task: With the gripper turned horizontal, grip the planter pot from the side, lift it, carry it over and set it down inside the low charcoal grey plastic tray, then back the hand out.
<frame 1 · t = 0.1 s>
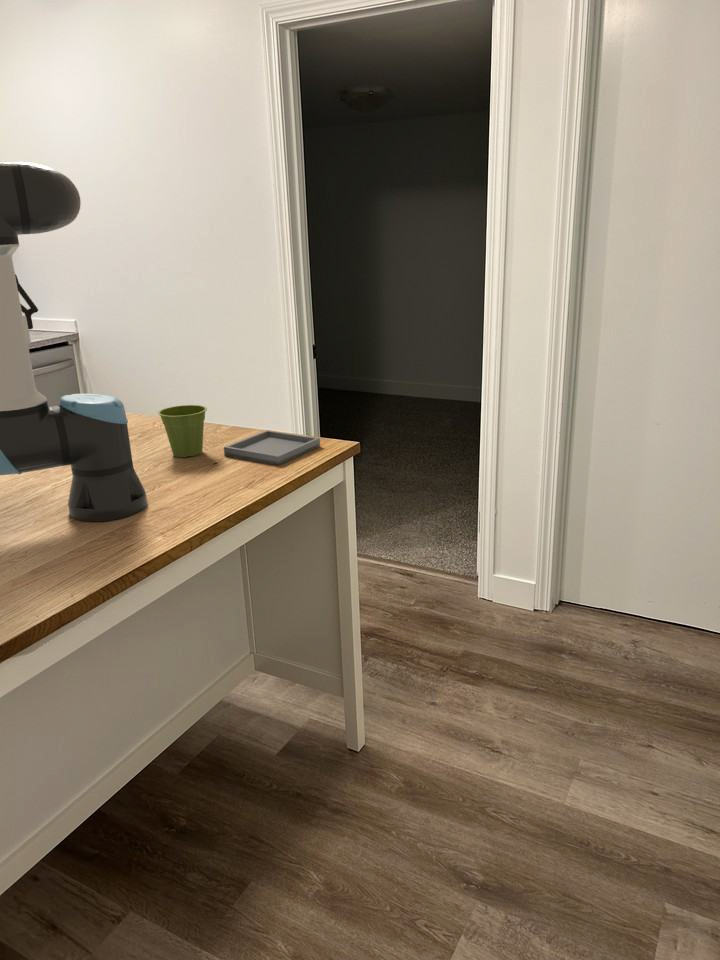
tray: (273, 450, 181), on the countertop
plant pot: (187, 454, 181), on the countertop
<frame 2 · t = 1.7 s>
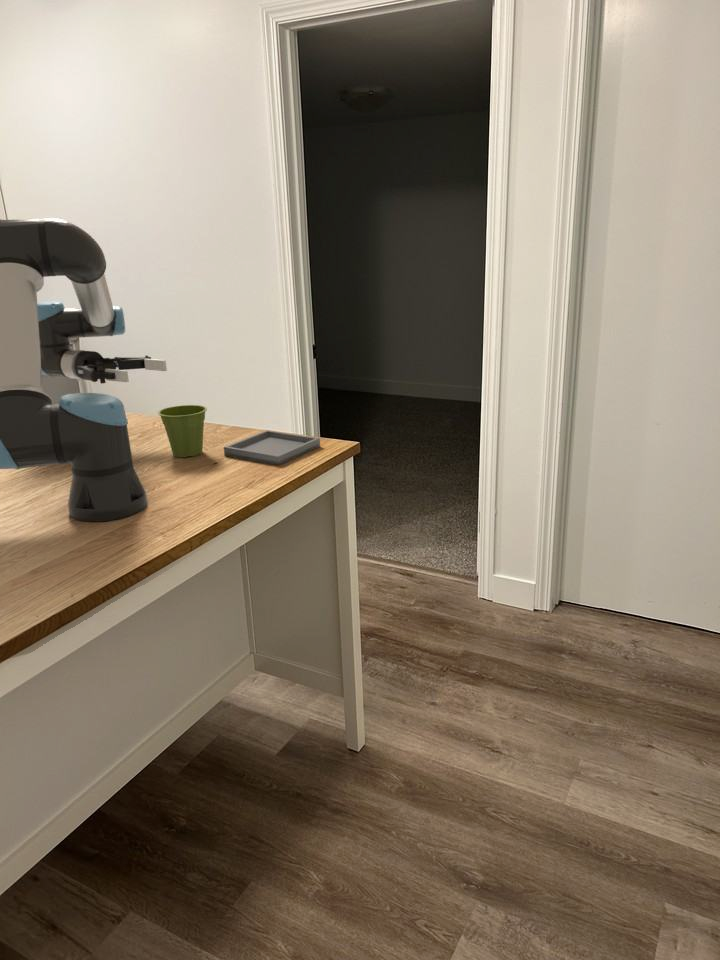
hand: (146, 370, 178), 20 cm above the countertop, tool horizontal, fingers open, 13 cm apart
nothing on the countertop moved.
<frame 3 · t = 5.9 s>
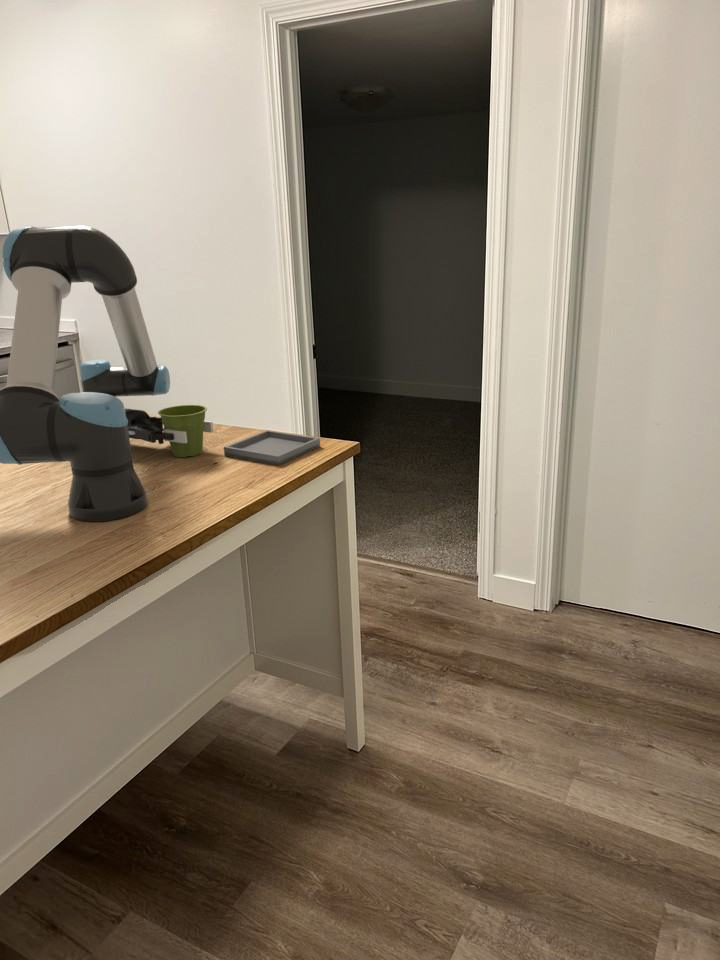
hand: (199, 432, 177), 6 cm above the countertop, tool horizontal, fingers closed on plant pot, 9 cm apart
plant pot: (187, 454, 181), on the countertop, touching gripper
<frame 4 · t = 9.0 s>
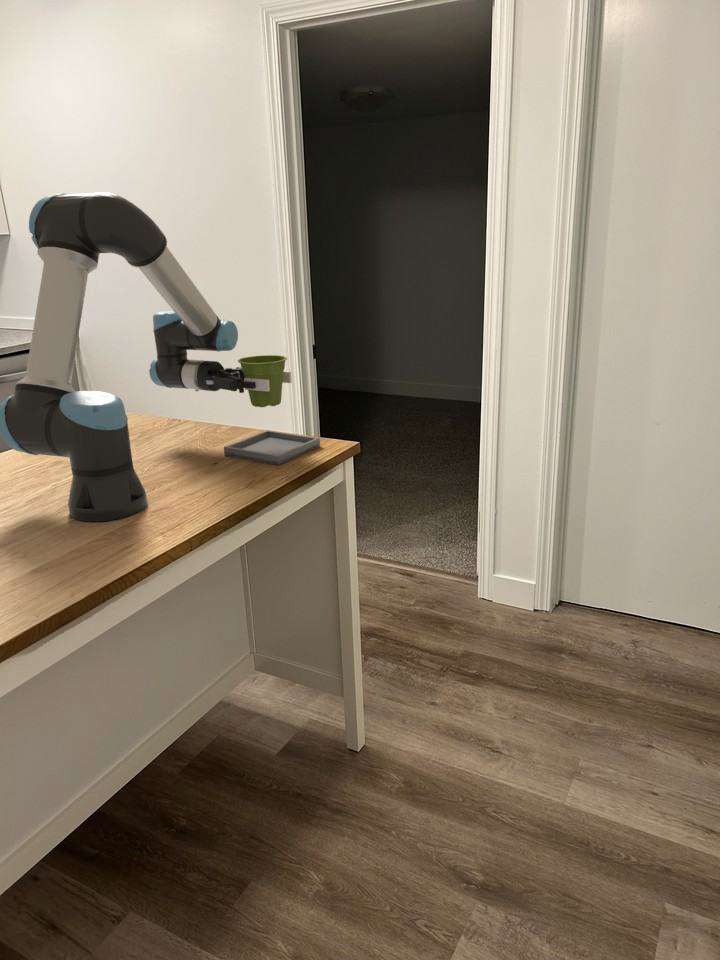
hand: (279, 381, 174), 18 cm above the countertop, tool horizontal, fingers closed on plant pot, 9 cm apart
plant pot: (265, 405, 178), point 12 cm above the countertop, touching gripper
when the fingers open (8 cm above the countertop, at t = 11.9 s): plant pot drops 1 cm, resting on tray.
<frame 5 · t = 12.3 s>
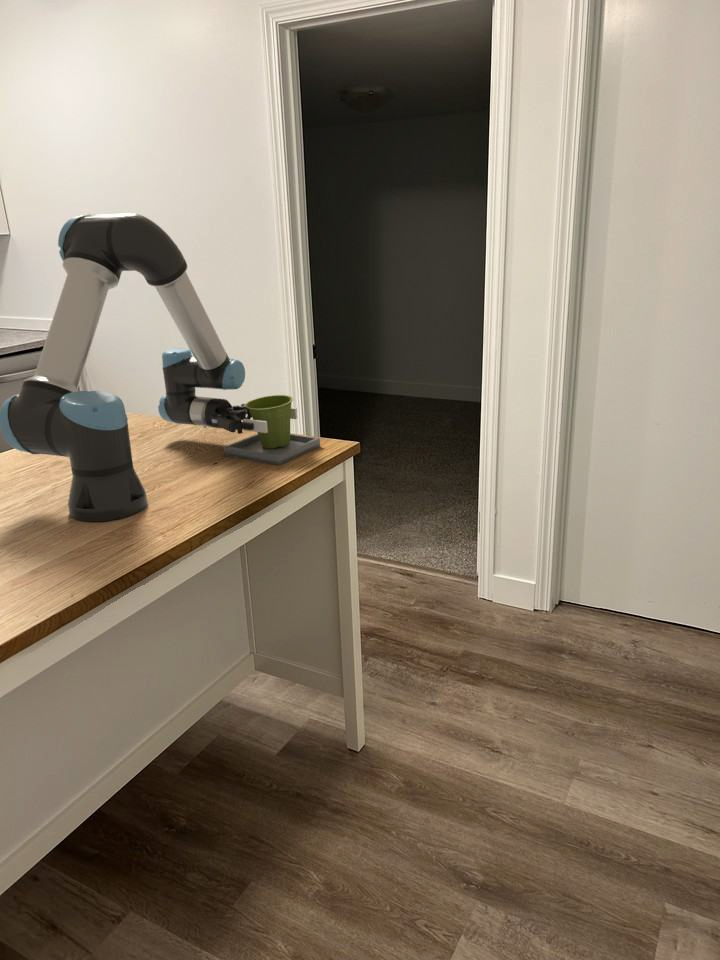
hand: (282, 420, 177), 8 cm above the countertop, tool horizontal, fingers open, 13 cm apart
plant pot: (276, 444, 183), point 1 cm above the countertop, touching gripper, tray
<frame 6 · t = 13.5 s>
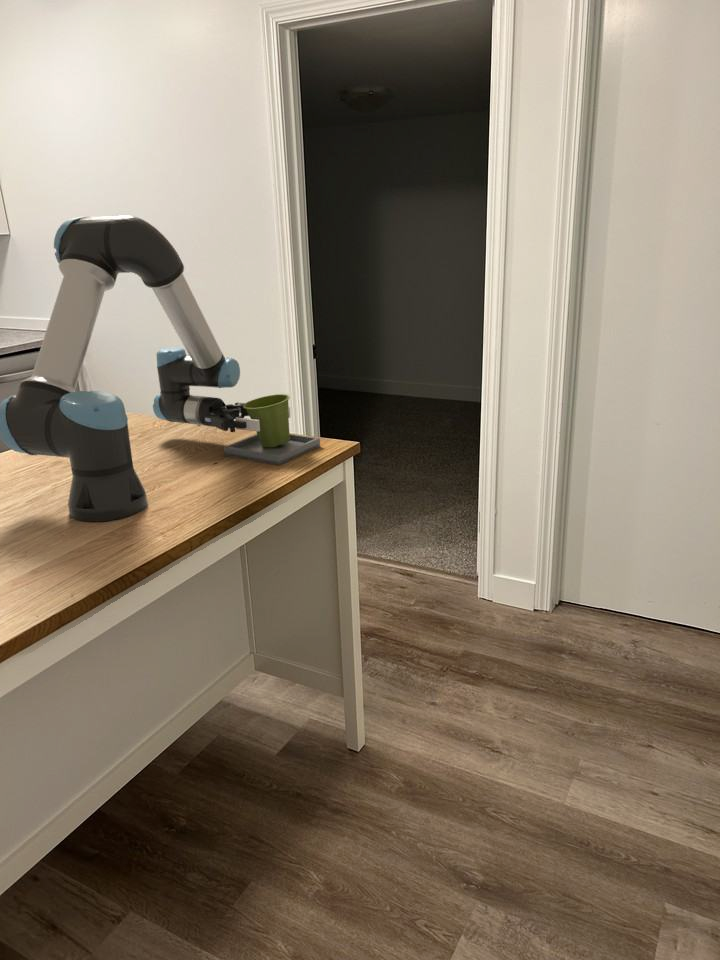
hand: (274, 418, 178), 8 cm above the countertop, tool horizontal, fingers open, 13 cm apart
plant pot: (275, 444, 183), point 1 cm above the countertop, touching tray
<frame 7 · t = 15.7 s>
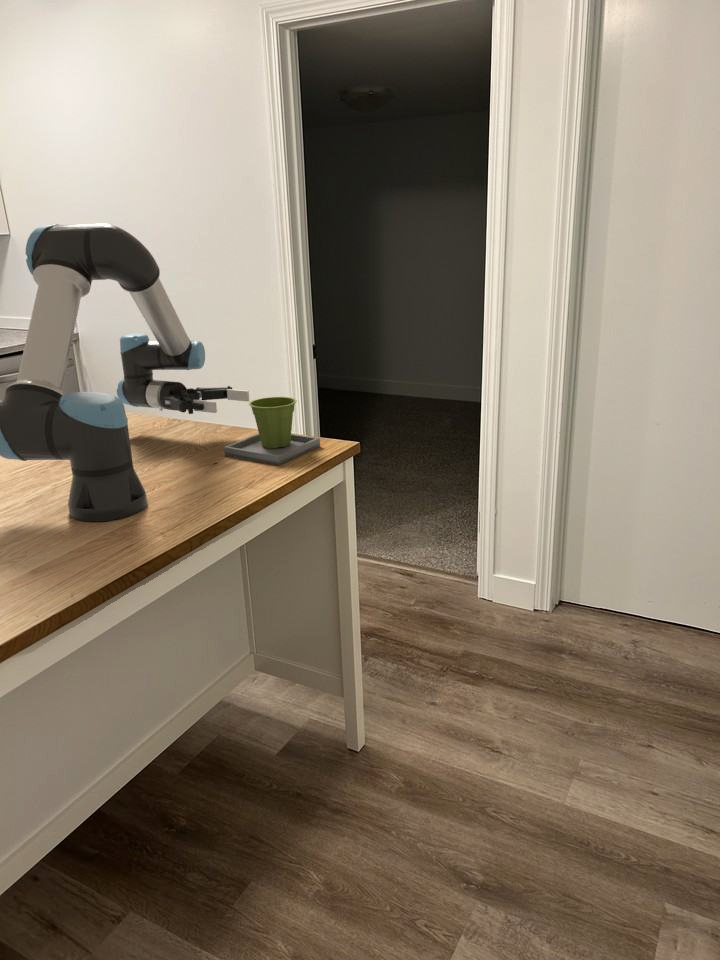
hand: (232, 401, 182), 12 cm above the countertop, tool horizontal, fingers open, 13 cm apart
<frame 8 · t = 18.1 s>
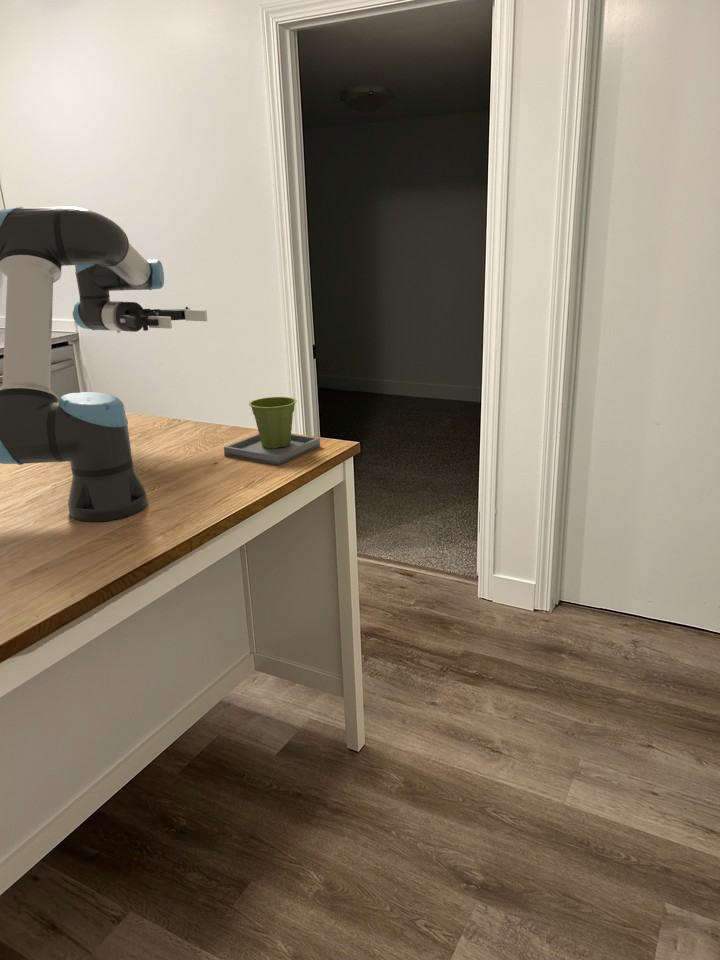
hand: (188, 319, 179), 32 cm above the countertop, tool horizontal, fingers open, 13 cm apart
nothing on the countertop moved.
at the end: plant pot inside the target area on the tray (2.6 cm from its centre), point 0.6 cm above the tray's base; plant pot tilted 0°; the gripper is holding nothing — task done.
